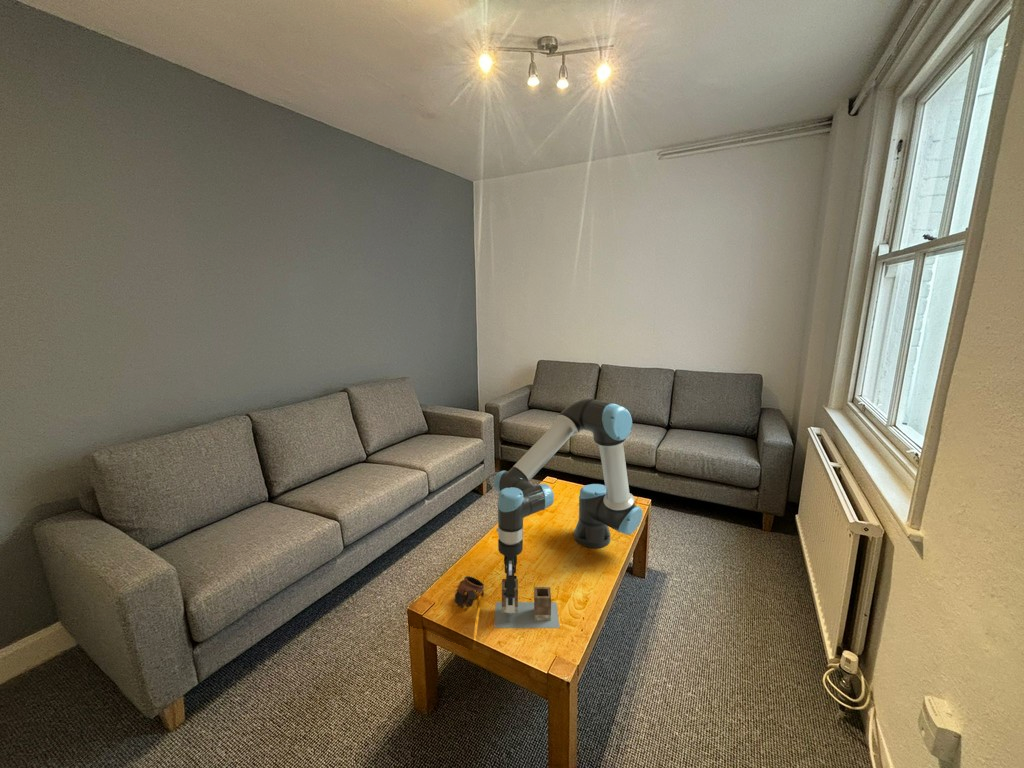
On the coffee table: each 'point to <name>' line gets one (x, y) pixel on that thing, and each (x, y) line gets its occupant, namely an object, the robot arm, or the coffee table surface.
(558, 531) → the coffee table surface
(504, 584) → the sleeve loose
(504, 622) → the pin board
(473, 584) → the pottery mug
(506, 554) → the robot arm
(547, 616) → the sleeve seated
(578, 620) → the coffee table surface
